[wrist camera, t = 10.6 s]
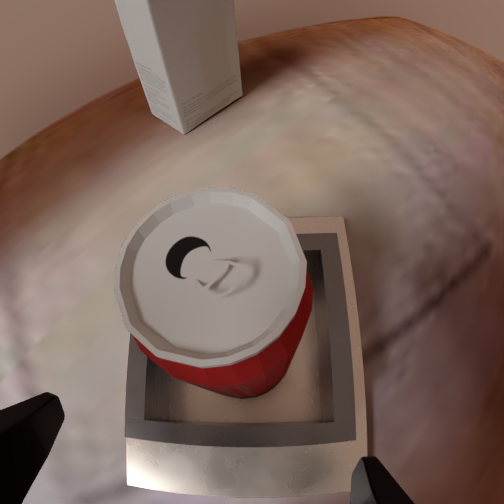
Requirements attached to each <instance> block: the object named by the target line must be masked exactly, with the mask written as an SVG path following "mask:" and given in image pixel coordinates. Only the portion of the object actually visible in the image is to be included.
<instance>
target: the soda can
mask: <svg viewBox="0 0 504 504" xmlns="http://www.w3.org/2000/svg"><path fill="white" fill-rule="evenodd" d="M306 267H307V261H306V259H305V256H304V253H303V251H302V248H301V245H300V243H299V240H298V238H297V235H296V233H295V230H294V228H293V225H292V222H291V221H290V220H289V219H288V218H286V217H285V216H284V215H282V214H281V213H280V212H278V211H277V210H276V209H274V208H273V207H272V206H270V205H269V204H268V203H266V202H265V201H264V200H262V199H261V198H259V197H258V196H257V195H255V194H253V193H249V192H246V191H242V190H239V189H235V188H222V187H208V188H202V189H195V190H189V191H187V192H184V193H182V194H179V195H176V196H174V197H171V198H169V199H167V200H165V201H164V202H162V203H161V204H159V205H158V206H156V207H155V208H153V209H152V210H150V211H149V212H148V213H147V214H146V215H145V216H144V217H143V218H142V219H141V220H140V221H139V222H138V223H137V224H136V225H135V226H134V227H133V229H132V231H131V232H130V234H129V235H128V237H127V239H126V240H125V242H124V244H123V245H122V248H121V251H120V254H119V257H118V260H117V263H116V267H115V281H114V291H115V295H116V298H117V301H118V305H119V308H120V311H121V314H122V317H123V320H124V323H125V327H126V329H127V330H128V331H129V332H130V333H131V334H132V335H133V337H134V339H135V341H136V343H137V345H138V347H139V348H140V350H141V351H142V352H143V353H144V354H145V355H146V356H147V357H149V358H150V359H151V360H152V361H153V362H155V363H156V364H157V365H158V366H159V367H161V368H162V369H163V370H164V371H166V372H167V373H168V374H169V375H171V376H172V377H174V378H176V379H179V380H181V381H184V382H187V383H189V384H192V385H195V386H198V387H200V388H203V389H206V390H209V391H212V392H215V393H218V394H221V395H224V396H229V397H234V398H240V399H245V398H253V397H258V396H260V395H263V394H265V393H267V392H269V391H270V390H271V389H273V388H274V387H275V386H276V385H278V384H279V383H280V381H281V380H282V379H283V377H284V376H285V375H286V372H287V370H288V368H289V366H290V364H291V361H292V359H293V357H294V355H295V352H296V350H297V348H298V345H299V343H300V341H301V339H302V336H303V334H304V331H305V328H306V325H307V322H308V320H309V317H310V314H311V311H312V301H313V286H312V283H311V280H310V278H309V275H308V272H307V269H306Z"/></svg>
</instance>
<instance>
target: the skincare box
mask: <svg viewBox="0 0 504 504" xmlns="http://www.w3.org/2000/svg"><path fill="white" fill-rule="evenodd" d="M115 4H116V7H117V11H118V14H119V17H120V20H121V24H122V27H123V30H124V33H125V36H126V38H127V42H128V44H129V48H130V51H131V54H132V57H133V60H134V63H135V65H136V68H137V72H138V75H139V78H140V81H141V84H142V86H143V89H144V92H145V95H146V97H147V100H148V103H149V106H150V109H151V112H152V114H153V115H155V116H156V117H158V118H159V119H161V120H162V121H164V122H165V123H167V124H169V125H170V126H172V127H173V128H175V129H176V130H178V131H179V132H181V133H182V134H186V133H188V132H189V131H191V130H192V129H193V128H195V127H196V126H197V125H199V124H200V123H202V122H203V121H205V120H206V119H207V118H209V117H210V116H212V115H213V114H215V113H216V112H218V111H219V110H221V109H222V108H224V107H225V106H227V105H228V104H230V103H231V102H233V101H234V100H236V99H238V98H239V97H241V96H242V95H243V93H242V83H241V73H240V63H239V53H238V42H237V32H236V21H235V11H234V1H233V0H115Z"/></svg>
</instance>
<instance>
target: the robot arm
mask: <svg viewBox="0 0 504 504" xmlns="http://www.w3.org/2000/svg"><path fill="white" fill-rule="evenodd" d="M64 417H65V415H64V411H63V408H62V405H61V402H60V400H59V398H58V396H56V395H54V394H52V393H49V392H45V393H43V394H40V395H38V396H35V397H33V398H30V399H28V400H25V401H23V402H20V403H18V404H15V405H13V406H10V407H7V408H5V409H2V410H0V504H22V502H23V500H24V498H25V496H26V495H27V493H28V491H29V489H30V487H31V485H32V484H33V482H34V480H35V478H36V476H37V475H38V473H39V471H40V469H41V468H42V466H43V464H44V462H45V461H46V459H47V457H48V455H49V453H50V451H51V448H52V446H53V444H54V441H55V439H56V437H57V435H58V432H59V430H60V428H61V426H62V423H63V421H64ZM350 504H414V503H413V501H412V500H411V499H410V498H409V496H408V495H407V494H406V493H405V492H404V490H403V489H402V488H401V487H400V486H399V484H398V483H397V482H396V481H395V479H394V478H393V477H392V476H391V474H390V473H389V472H388V471H387V470H386V468H385V467H384V466H383V465H382V463H381V462H380V461H379V460H378V458H376V457H375V456H363V457H361V458H360V460H359V461H358V463H357V465H356V467H355V469H354V471H353V473H352V476H351V496H350Z"/></svg>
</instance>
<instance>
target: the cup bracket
mask: <svg viewBox="0 0 504 504" xmlns="http://www.w3.org/2000/svg"><path fill="white" fill-rule="evenodd" d="M288 219H289V220H290V221H291V222H292V225H293V228H294V230H295V233H296V235H297V238H298V240H299V243H300V245H301V248H302V251H303V253H304V256H305V259H306V261H307V267H306V269H307V272H308V275H309V278H310V280H311V283H312V286H313V301H312V311H311V314H310V317H309V320H308V322H307V325H306V328H305V331H304V334H303V336H302V339H301V341H300V343H299V345H298V348H297V350H296V352H295V355H294V357H293V359H292V361H291V364H290V366H289V368H288V370H287V372H286V375H285V376H284V377H283V379H282V380H281V381H280V383H279V384H278V385H276V386H275V387H274V388H273V389H271V390H270V391H269V392H267V393H265V394H263V395H260V396H258V397H253V398H245V399H240V398H234V397H229V396H224V395H221V394H218V393H215V392H212V391H209V390H206V389H203V388H200V387H198V386H195V385H192V384H189V383H187V382H184V381H181V380H179V379H176V378H174V377H172V376H171V375H169V374H168V373H167V372H166V371H164V370H163V369H162V368H161V367H159V366H158V365H157V364H156V363H155V362H153V361H152V360H151V359H150V358H149V357H147V356H146V355H145V354H144V353H143V352H142V351H141V350H140V348H139V347H138V345H137V343H136V341H135V339H134V337H133V335H132V334H130V344H129V356H128V369H127V385H126V406H125V437H127V485H131V486H136V487H141V488H147V489H153V490H159V491H166V492H173V493H181V494H190V495H201V496H214V497H234V498H277V497H297V496H310V495H321V494H330V493H338V492H345V491H351V476H352V473H353V471H354V469H355V467H356V465H357V463H358V461H359V460H360V458H361V457H363V456H367V421H366V400H365V384H364V370H363V358H362V347H361V337H360V327H359V318H358V310H357V302H356V294H355V287H354V279H353V272H352V266H351V259H350V253H349V247H348V241H347V235H346V229H345V224H344V218H343V217H301V218H288Z"/></svg>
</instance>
